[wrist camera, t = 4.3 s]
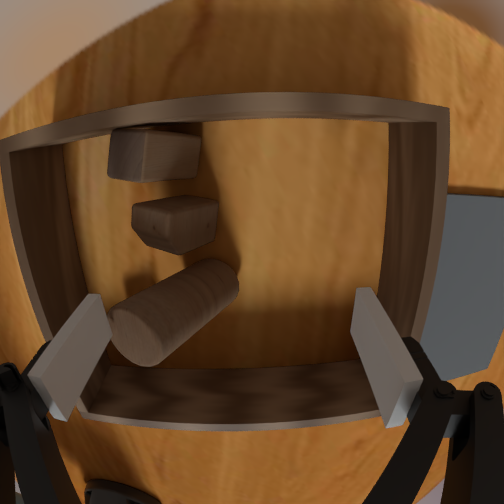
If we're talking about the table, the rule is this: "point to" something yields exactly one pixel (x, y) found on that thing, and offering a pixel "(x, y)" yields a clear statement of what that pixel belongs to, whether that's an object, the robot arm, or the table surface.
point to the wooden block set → (167, 248)
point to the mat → (467, 287)
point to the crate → (250, 379)
